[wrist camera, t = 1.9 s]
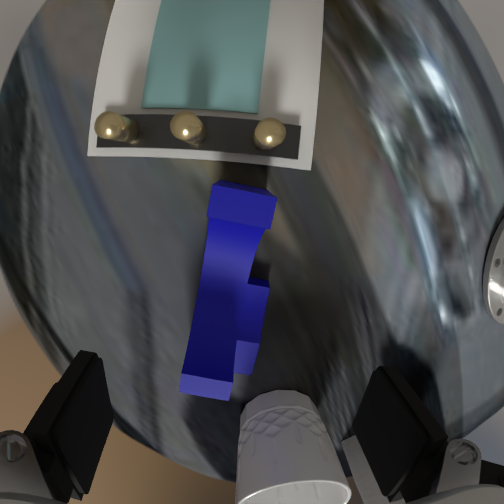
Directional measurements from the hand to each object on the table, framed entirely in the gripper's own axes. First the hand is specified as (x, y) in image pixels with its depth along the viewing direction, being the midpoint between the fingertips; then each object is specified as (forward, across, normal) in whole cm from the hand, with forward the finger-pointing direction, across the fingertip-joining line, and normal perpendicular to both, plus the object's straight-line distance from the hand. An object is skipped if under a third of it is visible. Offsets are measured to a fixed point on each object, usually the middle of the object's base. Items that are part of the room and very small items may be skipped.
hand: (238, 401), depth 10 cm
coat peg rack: (+11, +3, -9) cm, 14 cm away
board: (+12, +3, -17) cm, 21 cm away
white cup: (+12, -5, +13) cm, 19 cm away
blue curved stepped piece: (+13, 0, 0) cm, 13 cm away
